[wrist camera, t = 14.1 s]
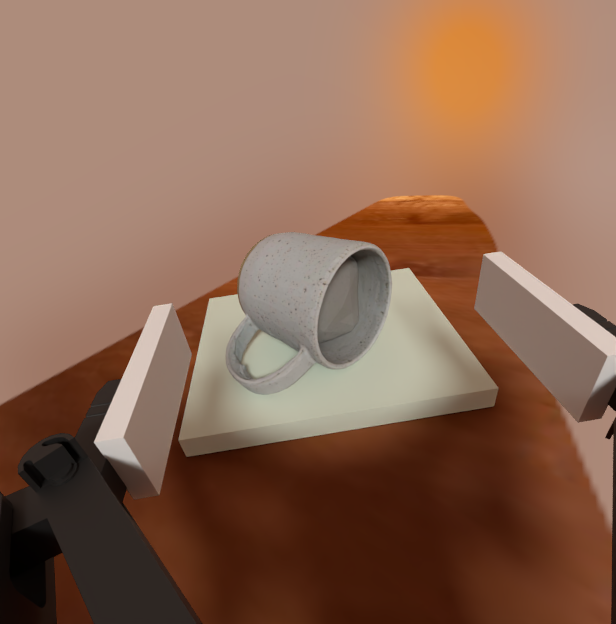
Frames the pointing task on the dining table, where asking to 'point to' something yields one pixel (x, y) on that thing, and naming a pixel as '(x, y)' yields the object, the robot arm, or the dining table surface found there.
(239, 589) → the dining table surface
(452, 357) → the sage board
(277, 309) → the ceramic mug
